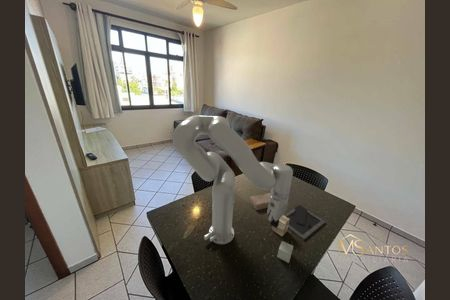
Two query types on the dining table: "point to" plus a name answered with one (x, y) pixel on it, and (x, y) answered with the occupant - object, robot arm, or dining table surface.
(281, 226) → the maple block
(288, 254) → the sage block
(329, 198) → the dining table surface
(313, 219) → the picture frame
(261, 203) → the brick
